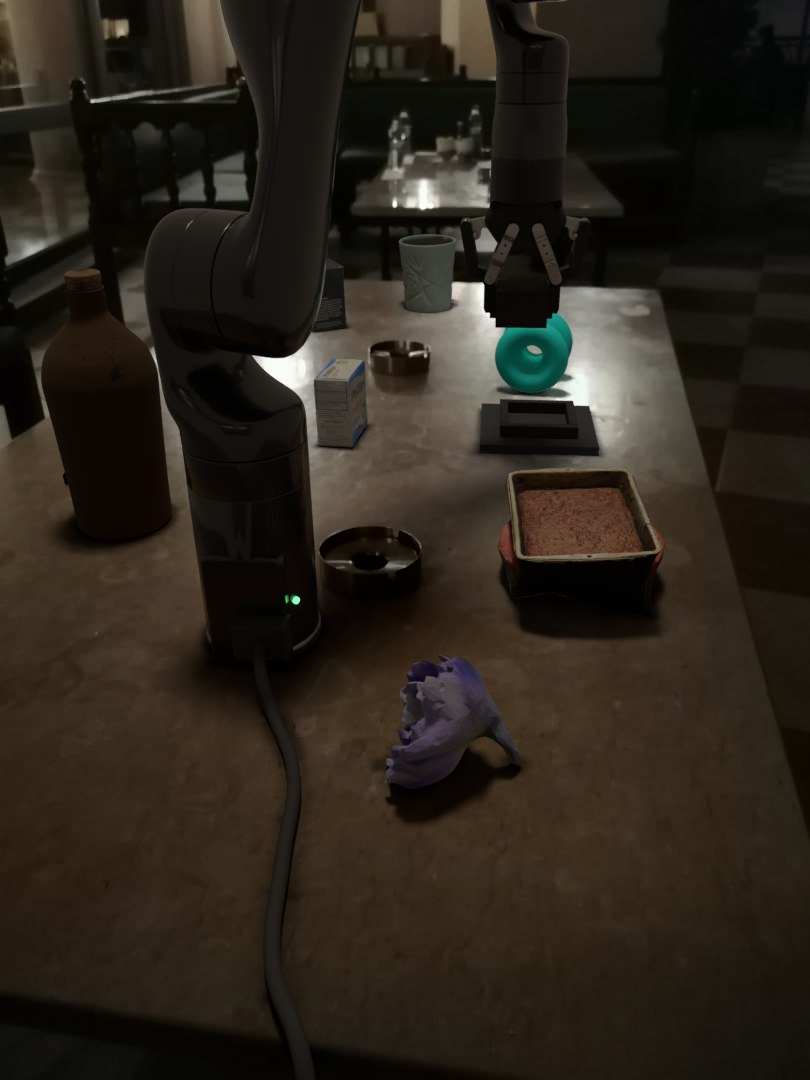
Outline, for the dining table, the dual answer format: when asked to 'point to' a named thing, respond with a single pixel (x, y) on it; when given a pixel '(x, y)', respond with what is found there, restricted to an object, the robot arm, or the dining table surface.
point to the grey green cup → (427, 271)
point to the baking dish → (580, 538)
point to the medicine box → (341, 402)
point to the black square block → (521, 303)
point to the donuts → (534, 355)
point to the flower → (443, 722)
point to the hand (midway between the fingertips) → (520, 316)
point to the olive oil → (106, 417)
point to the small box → (332, 299)
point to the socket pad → (537, 428)
